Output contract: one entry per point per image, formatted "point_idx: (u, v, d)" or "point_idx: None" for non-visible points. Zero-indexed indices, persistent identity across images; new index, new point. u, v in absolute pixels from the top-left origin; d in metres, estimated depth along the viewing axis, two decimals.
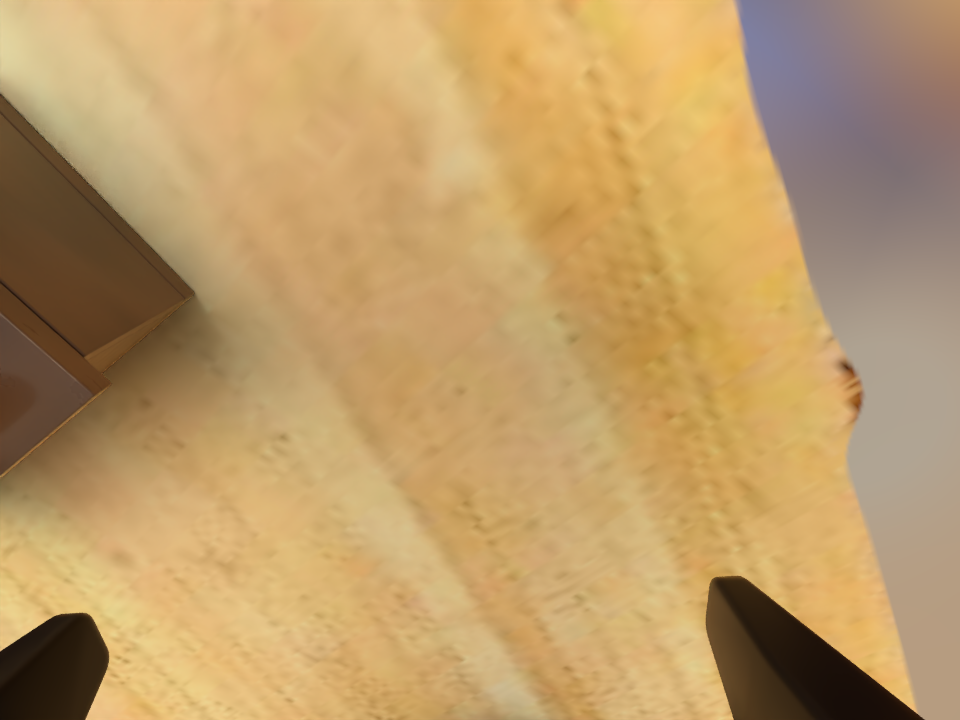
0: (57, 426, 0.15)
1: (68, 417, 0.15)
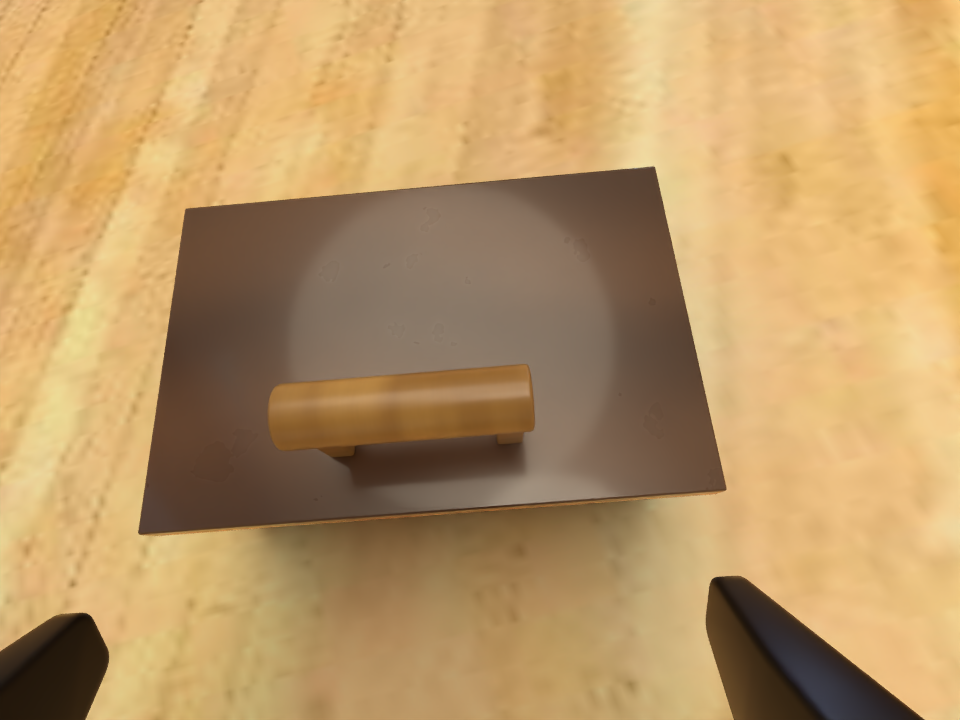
0: (663, 494, 0.14)
1: (681, 493, 0.14)
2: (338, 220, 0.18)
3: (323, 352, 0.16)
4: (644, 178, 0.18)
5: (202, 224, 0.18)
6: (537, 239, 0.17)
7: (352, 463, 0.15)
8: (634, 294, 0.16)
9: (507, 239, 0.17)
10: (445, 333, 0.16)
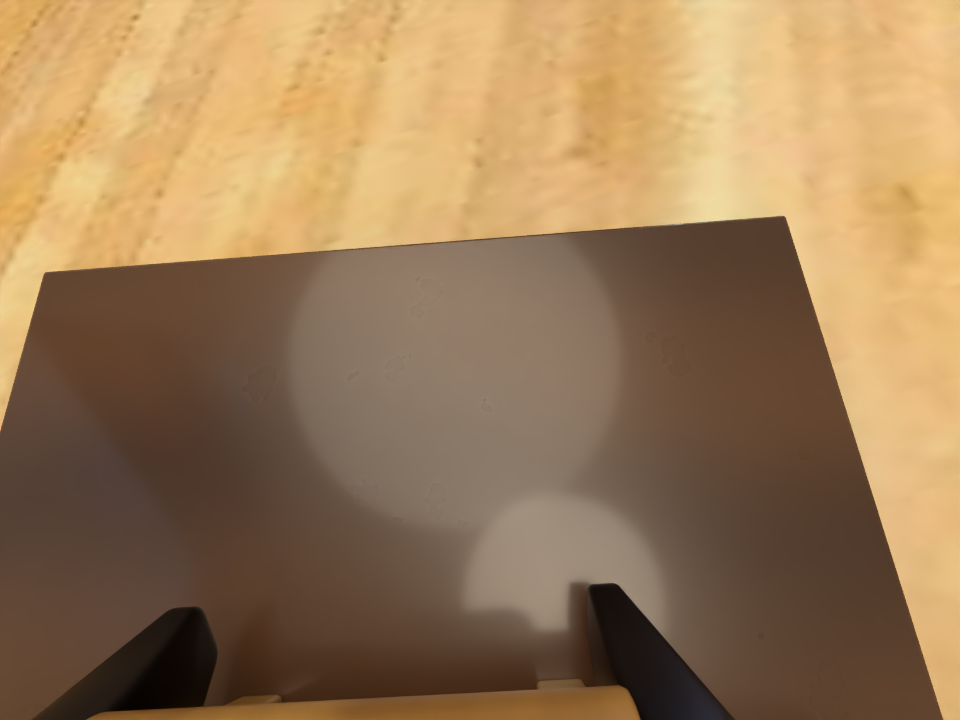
0: None
1: None
2: (280, 295, 0.11)
3: (239, 531, 0.09)
4: (770, 235, 0.11)
5: (67, 298, 0.11)
6: (600, 335, 0.10)
7: None
8: (771, 438, 0.10)
9: (551, 333, 0.10)
10: (448, 502, 0.09)
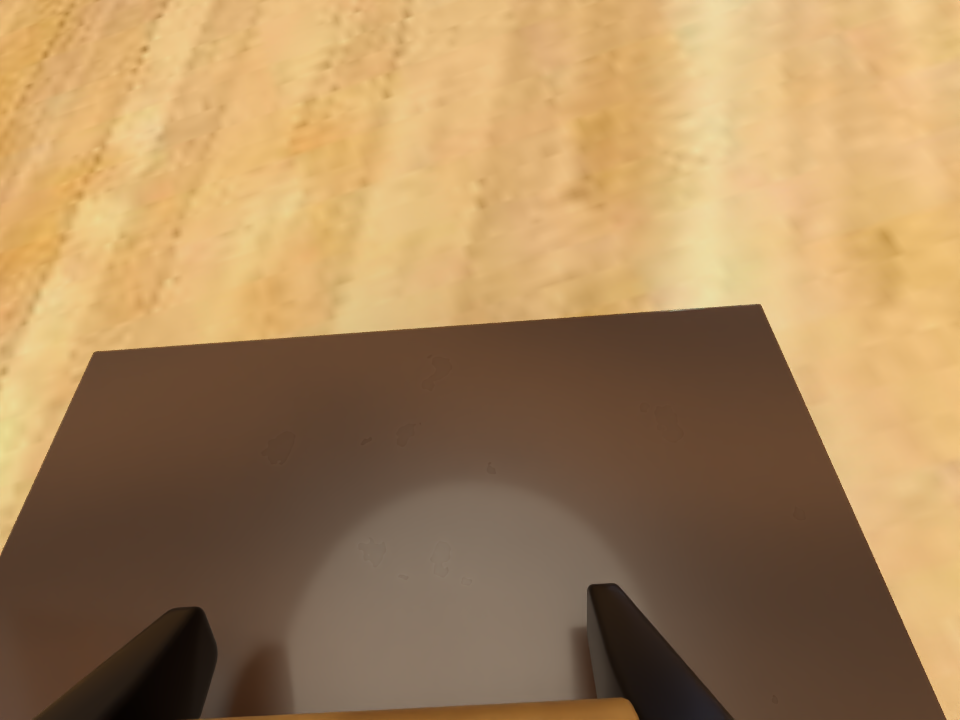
0: None
1: None
2: (303, 371, 0.12)
3: (245, 589, 0.10)
4: (748, 319, 0.12)
5: (110, 373, 0.12)
6: (597, 405, 0.11)
7: None
8: (766, 499, 0.10)
9: (551, 403, 0.11)
10: (452, 561, 0.10)
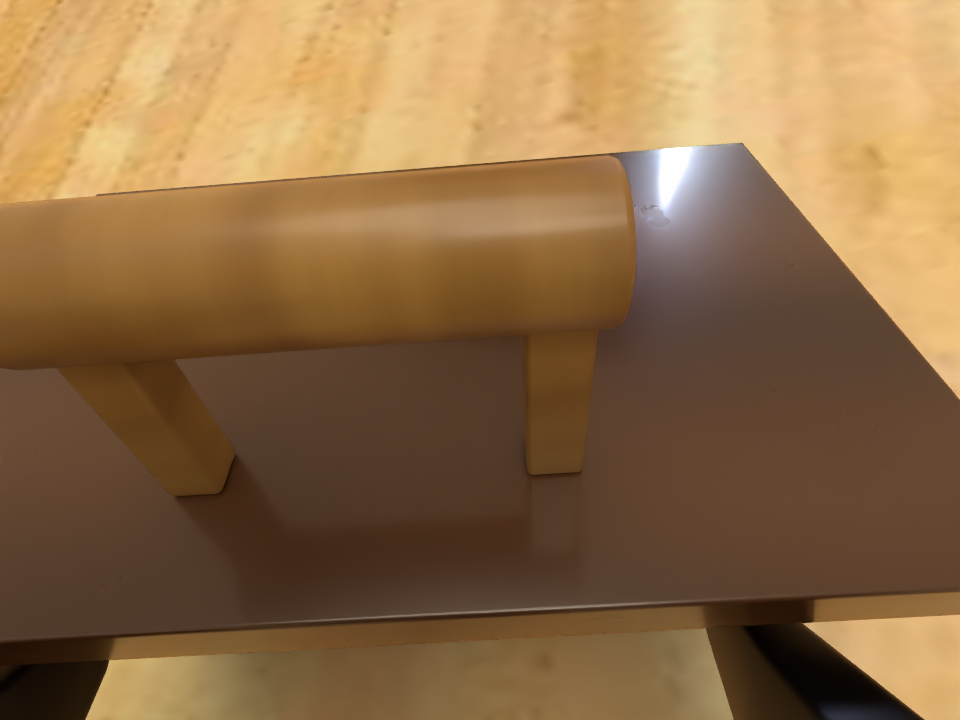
0: (948, 589, 0.06)
1: None
2: None
3: None
4: (731, 151, 0.13)
5: None
6: None
7: (212, 510, 0.07)
8: (755, 259, 0.10)
9: None
10: None
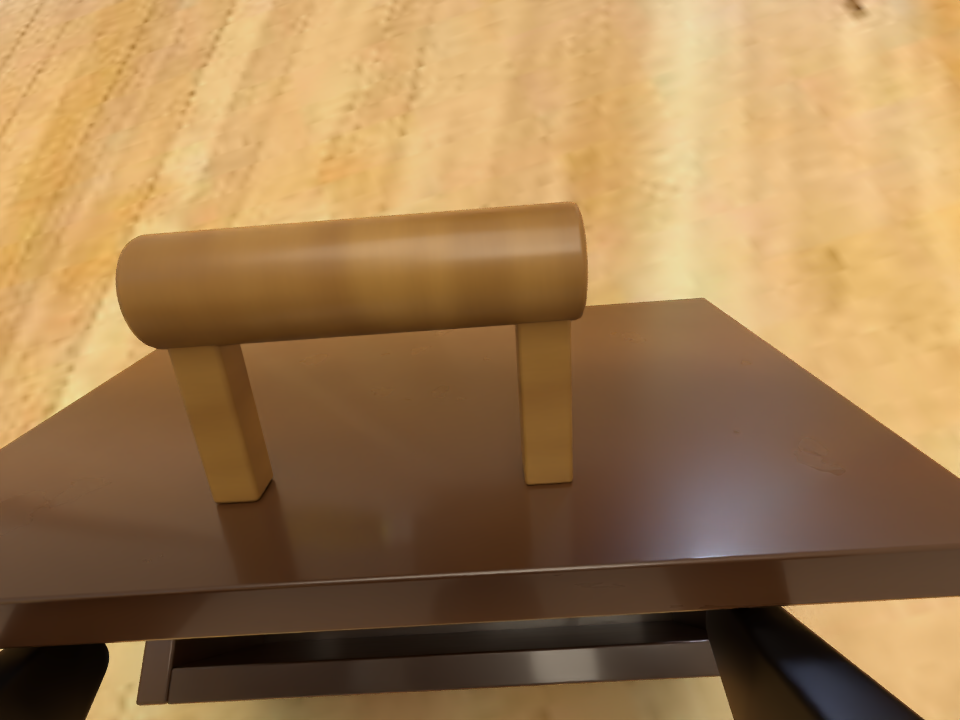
0: (901, 550, 0.06)
1: (943, 548, 0.06)
2: None
3: (269, 409, 0.11)
4: (695, 302, 0.15)
5: None
6: (575, 334, 0.14)
7: (249, 512, 0.08)
8: (717, 359, 0.12)
9: None
10: (450, 391, 0.11)
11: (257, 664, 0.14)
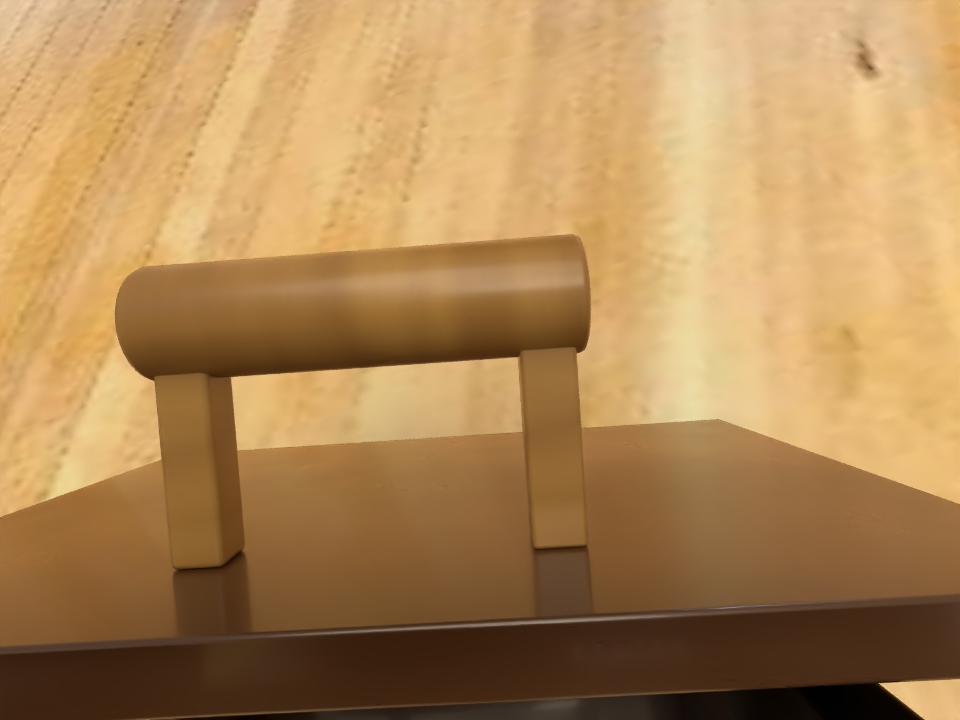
0: None
1: None
2: (343, 450, 0.15)
3: (255, 500, 0.10)
4: (710, 422, 0.15)
5: None
6: (587, 444, 0.13)
7: (209, 576, 0.07)
8: (741, 456, 0.11)
9: None
10: (452, 484, 0.10)
11: None
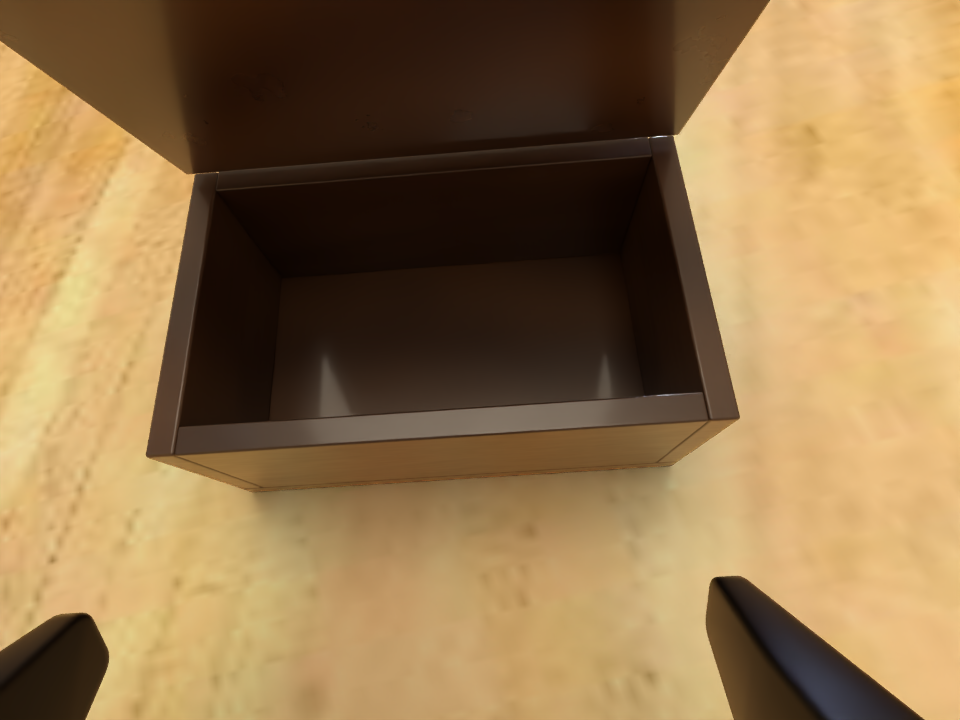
0: None
1: None
2: None
3: None
4: None
5: None
6: None
7: None
8: None
9: None
10: None
11: (258, 421, 0.15)
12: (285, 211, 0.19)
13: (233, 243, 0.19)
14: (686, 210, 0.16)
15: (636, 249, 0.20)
